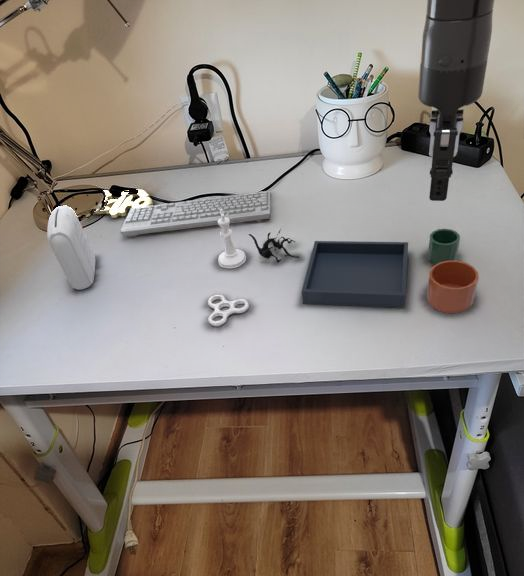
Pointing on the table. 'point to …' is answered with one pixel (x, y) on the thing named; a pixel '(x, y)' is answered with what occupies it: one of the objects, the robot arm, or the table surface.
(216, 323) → the fidget spinner
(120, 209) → the lettering
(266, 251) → the creature
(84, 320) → the table surface
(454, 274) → the big bowl
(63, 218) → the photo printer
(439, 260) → the small bowl
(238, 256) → the chess piece
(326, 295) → the tray
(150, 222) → the keyboard
